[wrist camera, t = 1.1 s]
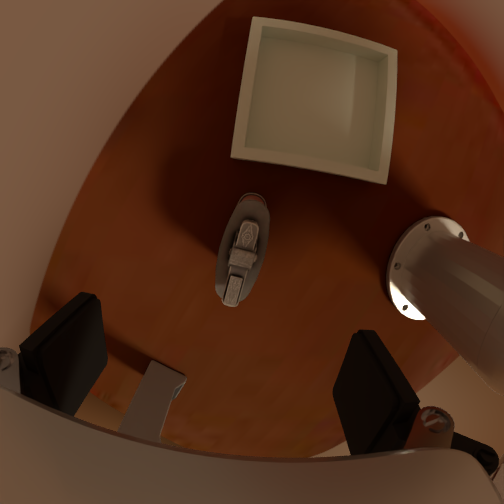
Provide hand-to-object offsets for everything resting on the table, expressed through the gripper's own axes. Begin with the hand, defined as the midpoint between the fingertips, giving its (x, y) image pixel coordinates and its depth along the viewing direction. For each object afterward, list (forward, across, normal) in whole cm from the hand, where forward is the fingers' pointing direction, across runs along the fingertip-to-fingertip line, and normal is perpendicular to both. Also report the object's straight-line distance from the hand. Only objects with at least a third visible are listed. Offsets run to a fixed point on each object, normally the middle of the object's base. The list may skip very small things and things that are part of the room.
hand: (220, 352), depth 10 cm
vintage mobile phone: (+20, +8, +20) cm, 29 cm away
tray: (+20, -5, -14) cm, 25 cm away
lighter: (+20, 0, 0) cm, 20 cm away
